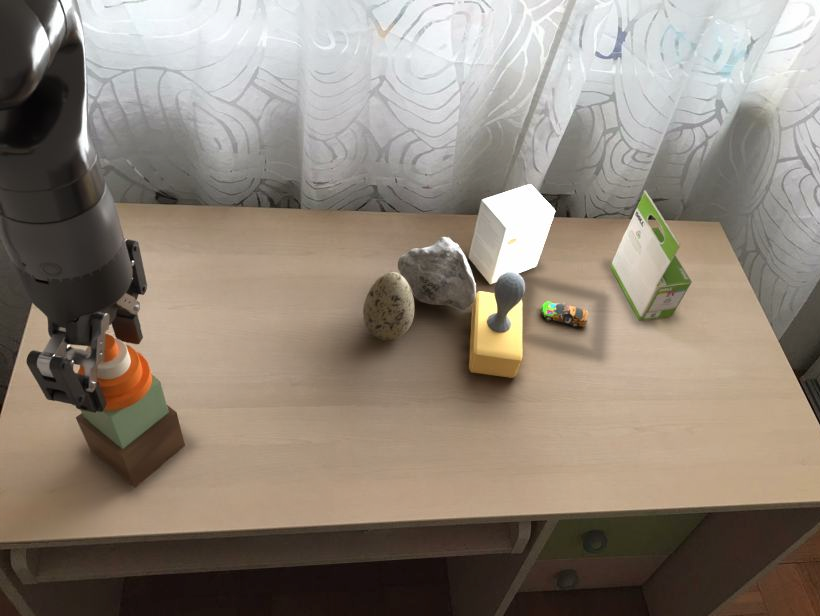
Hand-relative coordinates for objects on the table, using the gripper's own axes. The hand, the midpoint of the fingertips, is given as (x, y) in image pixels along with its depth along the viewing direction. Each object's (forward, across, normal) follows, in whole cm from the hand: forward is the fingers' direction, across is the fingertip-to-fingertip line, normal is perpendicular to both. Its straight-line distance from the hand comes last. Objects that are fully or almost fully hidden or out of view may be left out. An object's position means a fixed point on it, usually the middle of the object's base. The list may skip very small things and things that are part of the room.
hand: (112, 372), depth 66 cm
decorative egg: (+14, -22, +21) cm, 33 cm away
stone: (+14, -28, +26) cm, 41 cm away
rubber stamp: (+14, -24, +34) cm, 44 cm away
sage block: (+7, 0, 0) cm, 7 cm away
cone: (+2, 0, 0) cm, 2 cm away
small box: (+14, -38, +34) cm, 52 cm away
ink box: (+14, -38, +53) cm, 67 cm away
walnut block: (+13, 0, 0) cm, 13 cm away
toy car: (+14, -30, +43) cm, 54 cm away
